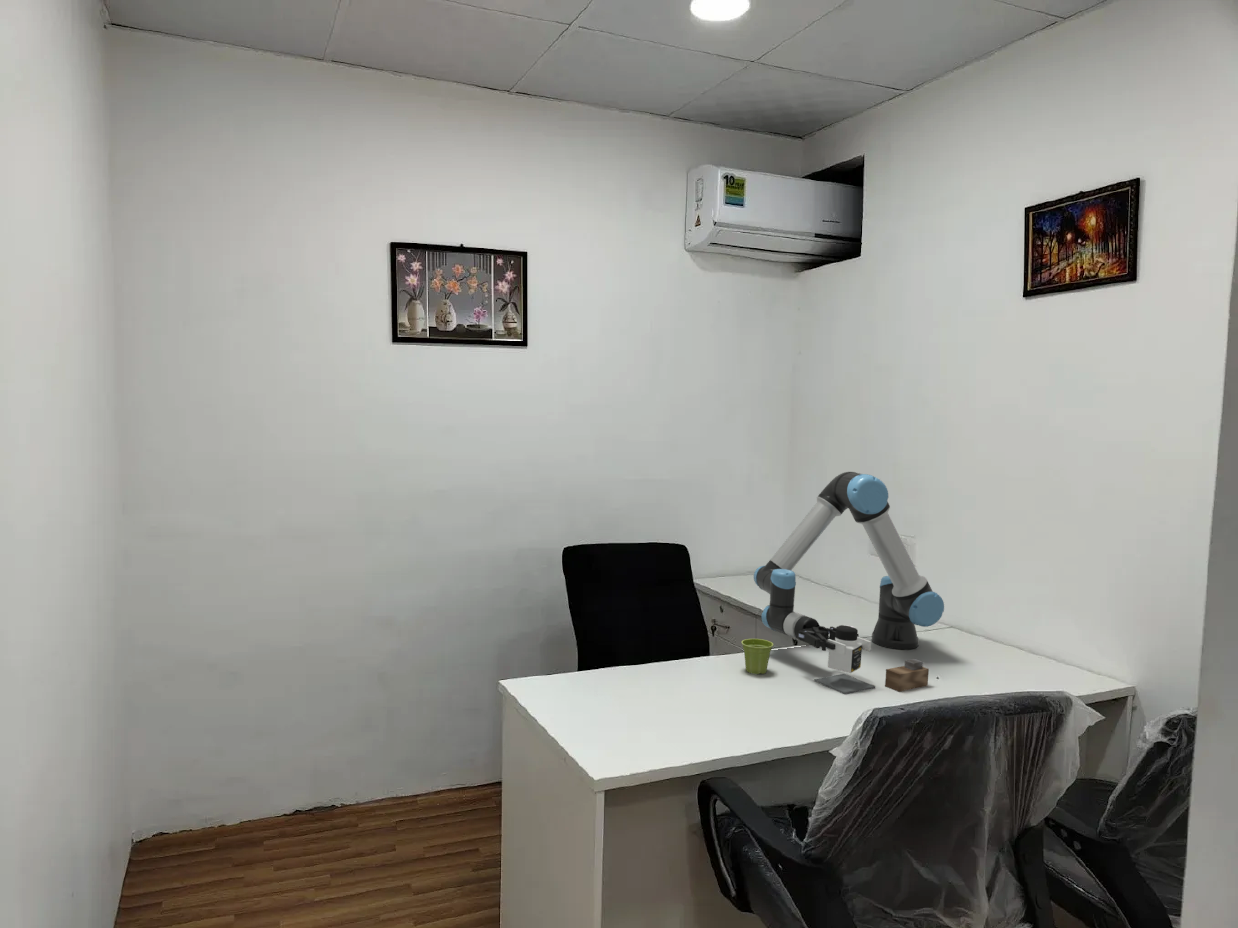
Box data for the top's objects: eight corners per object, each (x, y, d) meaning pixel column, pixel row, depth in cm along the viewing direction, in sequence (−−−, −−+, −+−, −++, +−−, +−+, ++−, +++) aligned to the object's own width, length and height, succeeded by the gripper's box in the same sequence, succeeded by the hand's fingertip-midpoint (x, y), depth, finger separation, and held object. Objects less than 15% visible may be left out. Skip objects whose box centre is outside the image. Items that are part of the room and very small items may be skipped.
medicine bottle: (851, 673, 235) (854, 631, 234) (827, 667, 240) (830, 626, 239) (860, 667, 241) (863, 626, 240) (837, 662, 245) (839, 621, 244)
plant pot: (735, 672, 248) (736, 643, 247) (746, 664, 256) (747, 636, 255) (766, 678, 243) (767, 649, 243) (775, 670, 252) (777, 641, 251)
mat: (844, 675, 249) (844, 673, 249) (875, 688, 239) (875, 686, 238) (814, 681, 243) (814, 679, 243) (844, 694, 232) (844, 692, 232)
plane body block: (913, 680, 247) (915, 657, 246) (927, 685, 242) (929, 662, 242) (885, 686, 241) (886, 662, 240) (898, 691, 236) (900, 667, 236)
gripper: (827, 636, 261) (884, 656, 242) (773, 643, 250) (828, 665, 231) (829, 612, 260) (885, 631, 241) (775, 618, 249) (830, 639, 230)
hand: (857, 648), depth 236 cm, fingers closed on medicine bottle, 9 cm apart
